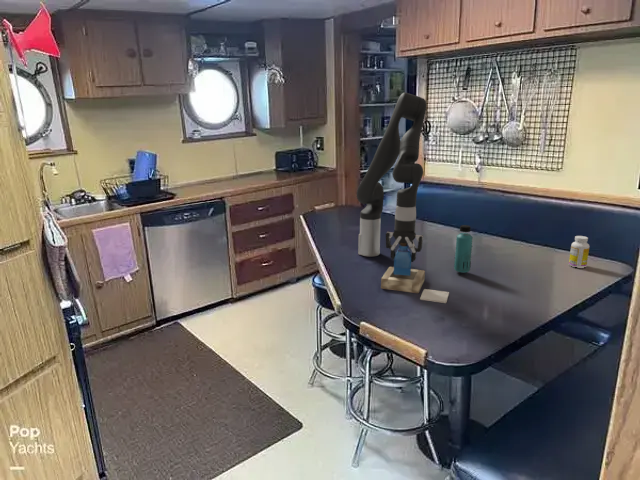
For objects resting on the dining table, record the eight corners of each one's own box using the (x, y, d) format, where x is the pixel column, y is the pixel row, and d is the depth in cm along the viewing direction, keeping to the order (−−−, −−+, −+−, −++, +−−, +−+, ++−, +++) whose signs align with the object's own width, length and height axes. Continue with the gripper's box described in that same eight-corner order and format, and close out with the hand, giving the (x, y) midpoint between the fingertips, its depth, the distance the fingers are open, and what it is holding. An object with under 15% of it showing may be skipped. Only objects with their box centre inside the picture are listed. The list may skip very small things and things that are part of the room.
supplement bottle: (585, 265, 197) (590, 236, 193) (586, 270, 191) (591, 240, 188) (567, 263, 200) (572, 234, 196) (568, 267, 194) (573, 238, 190)
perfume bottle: (410, 275, 173) (412, 245, 169) (393, 274, 174) (395, 244, 171) (410, 269, 179) (412, 240, 175) (394, 268, 180) (396, 239, 176)
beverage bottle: (461, 277, 184) (465, 228, 179) (449, 272, 190) (453, 224, 184) (473, 274, 187) (478, 226, 182) (461, 269, 193) (465, 223, 187)
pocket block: (380, 288, 174) (381, 278, 173) (389, 275, 186) (389, 266, 185) (418, 293, 169) (419, 283, 168) (424, 280, 182) (425, 270, 180)
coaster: (420, 299, 164) (420, 298, 163) (424, 290, 172) (424, 288, 171) (446, 303, 160) (446, 301, 160) (449, 293, 168) (449, 292, 168)
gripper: (383, 218, 169) (381, 261, 174) (423, 221, 164) (420, 265, 169) (388, 213, 176) (386, 255, 181) (426, 217, 171) (423, 259, 176)
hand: (402, 260), depth 175 cm, fingers closed on perfume bottle, 6 cm apart
